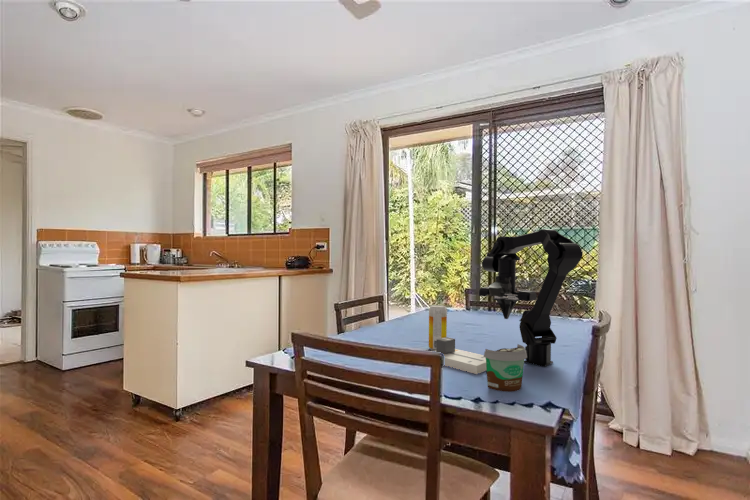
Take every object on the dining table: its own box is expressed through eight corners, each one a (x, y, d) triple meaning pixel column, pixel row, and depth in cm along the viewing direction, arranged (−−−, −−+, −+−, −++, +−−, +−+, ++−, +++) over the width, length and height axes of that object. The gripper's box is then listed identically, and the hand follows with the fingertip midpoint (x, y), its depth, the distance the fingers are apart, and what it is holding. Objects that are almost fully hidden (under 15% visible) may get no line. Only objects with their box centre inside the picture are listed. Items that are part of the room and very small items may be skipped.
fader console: (496, 366, 121) (496, 358, 121) (476, 374, 113) (476, 365, 113) (447, 354, 134) (447, 346, 134) (426, 360, 126) (426, 352, 126)
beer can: (445, 347, 142) (446, 305, 142) (447, 352, 136) (447, 307, 136) (428, 347, 143) (428, 304, 143) (428, 351, 137) (429, 307, 137)
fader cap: (455, 351, 128) (455, 338, 128) (445, 354, 124) (445, 341, 124) (445, 349, 130) (446, 336, 130) (436, 352, 127) (436, 339, 127)
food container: (501, 396, 96) (501, 355, 96) (483, 388, 102) (483, 349, 102) (537, 388, 102) (538, 349, 102) (518, 381, 108) (519, 343, 107)
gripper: (470, 272, 139) (469, 318, 139) (521, 276, 126) (521, 326, 126) (487, 271, 147) (486, 314, 147) (537, 274, 134) (537, 321, 134)
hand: (506, 318), depth 138 cm, fingers closed
